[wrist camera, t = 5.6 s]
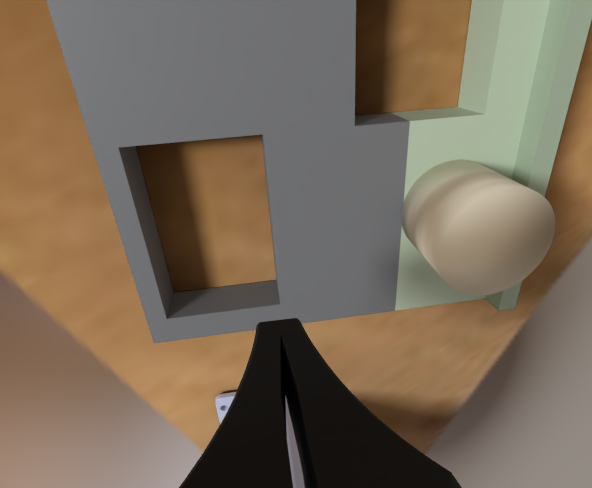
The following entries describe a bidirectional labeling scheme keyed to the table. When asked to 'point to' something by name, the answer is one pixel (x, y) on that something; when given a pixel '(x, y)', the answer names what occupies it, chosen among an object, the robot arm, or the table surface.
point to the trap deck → (309, 139)
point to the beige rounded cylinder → (477, 226)
